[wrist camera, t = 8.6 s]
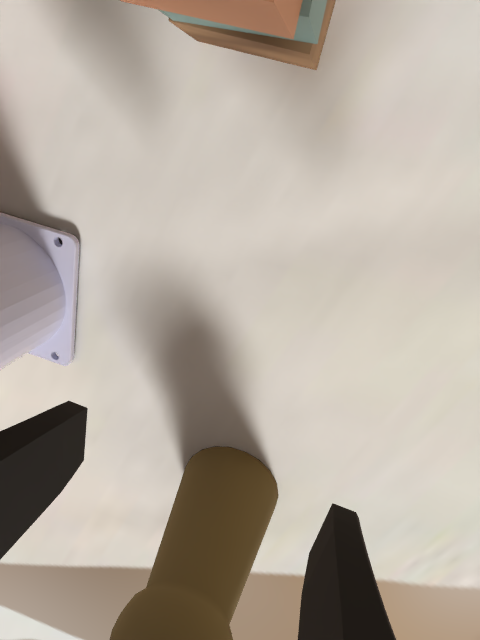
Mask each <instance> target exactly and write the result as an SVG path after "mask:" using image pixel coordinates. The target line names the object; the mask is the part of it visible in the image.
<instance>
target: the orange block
mask: <svg viewBox="0 0 480 640" xmlns="http://www.w3.org/2000/svg"><path fill="white" fill-rule="evenodd" d="M120 1H123V2H127V3H132V4H136V5H141V6H145V7H150V8H154V9H159V10H163V11H168V12H172V13H177V14H181V15H186V16H190V17H195V18H199V19H204V20H208V21H213V22H217V23H222V24H226V25H231V26H235V27H240V28H244V29H249V30H253V31H258V32H262V33H267V34H271V35H276V36H280V37H285V38H289V39H294V35H295V31H296V26H297V22H298V18H299V14H300V9H301V5H302V1H303V0H120Z"/></svg>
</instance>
